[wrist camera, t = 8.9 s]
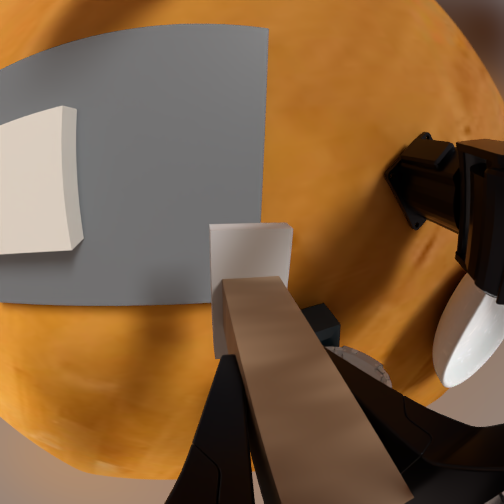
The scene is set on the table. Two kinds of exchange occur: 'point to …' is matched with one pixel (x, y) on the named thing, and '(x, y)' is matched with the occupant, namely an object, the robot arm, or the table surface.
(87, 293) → the board
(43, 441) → the table surface
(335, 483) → the white-capped wooden bar
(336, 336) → the watch
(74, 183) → the tile
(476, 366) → the serving bowl
